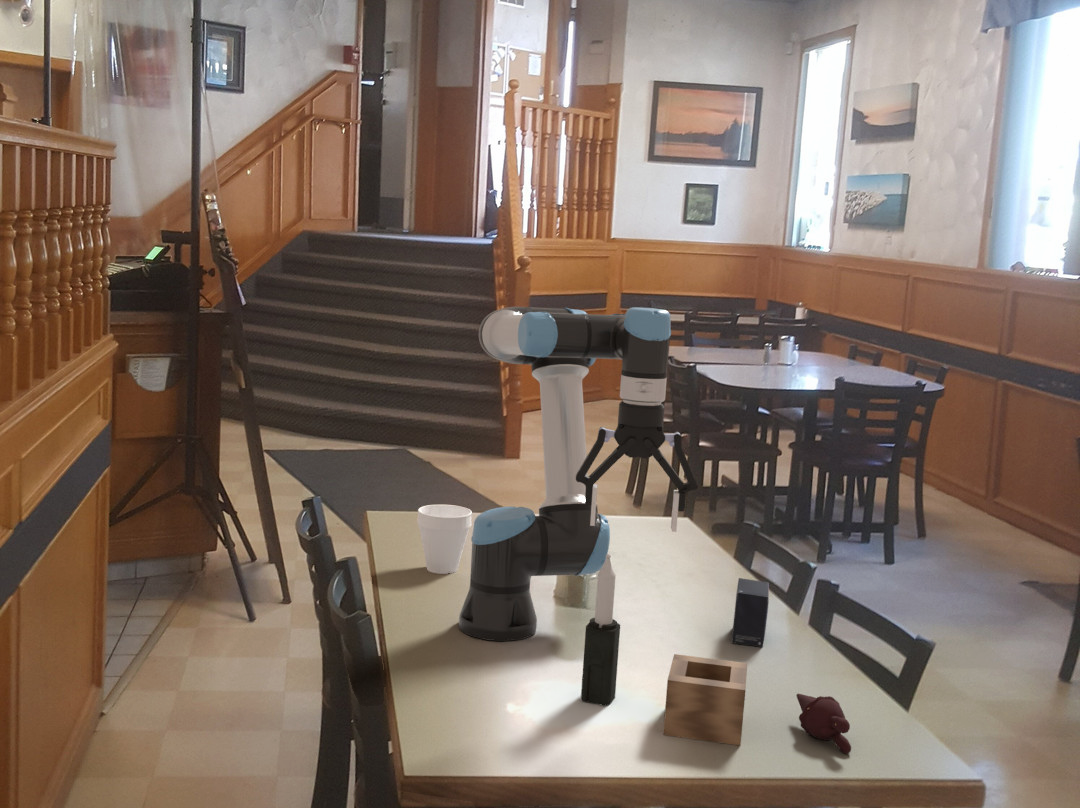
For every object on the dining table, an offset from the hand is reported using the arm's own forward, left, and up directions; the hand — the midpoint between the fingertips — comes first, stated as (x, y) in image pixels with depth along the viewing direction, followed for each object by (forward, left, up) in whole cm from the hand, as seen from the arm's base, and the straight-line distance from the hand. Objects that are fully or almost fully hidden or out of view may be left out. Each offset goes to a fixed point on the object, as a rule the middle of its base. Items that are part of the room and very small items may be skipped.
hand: (632, 527), depth 197 cm
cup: (-48, +57, -29) cm, 80 cm away
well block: (+15, -10, -29) cm, 34 cm away
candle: (-3, -5, -29) cm, 29 cm away
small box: (+21, +36, -29) cm, 51 cm away
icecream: (+33, -8, -29) cm, 45 cm away
